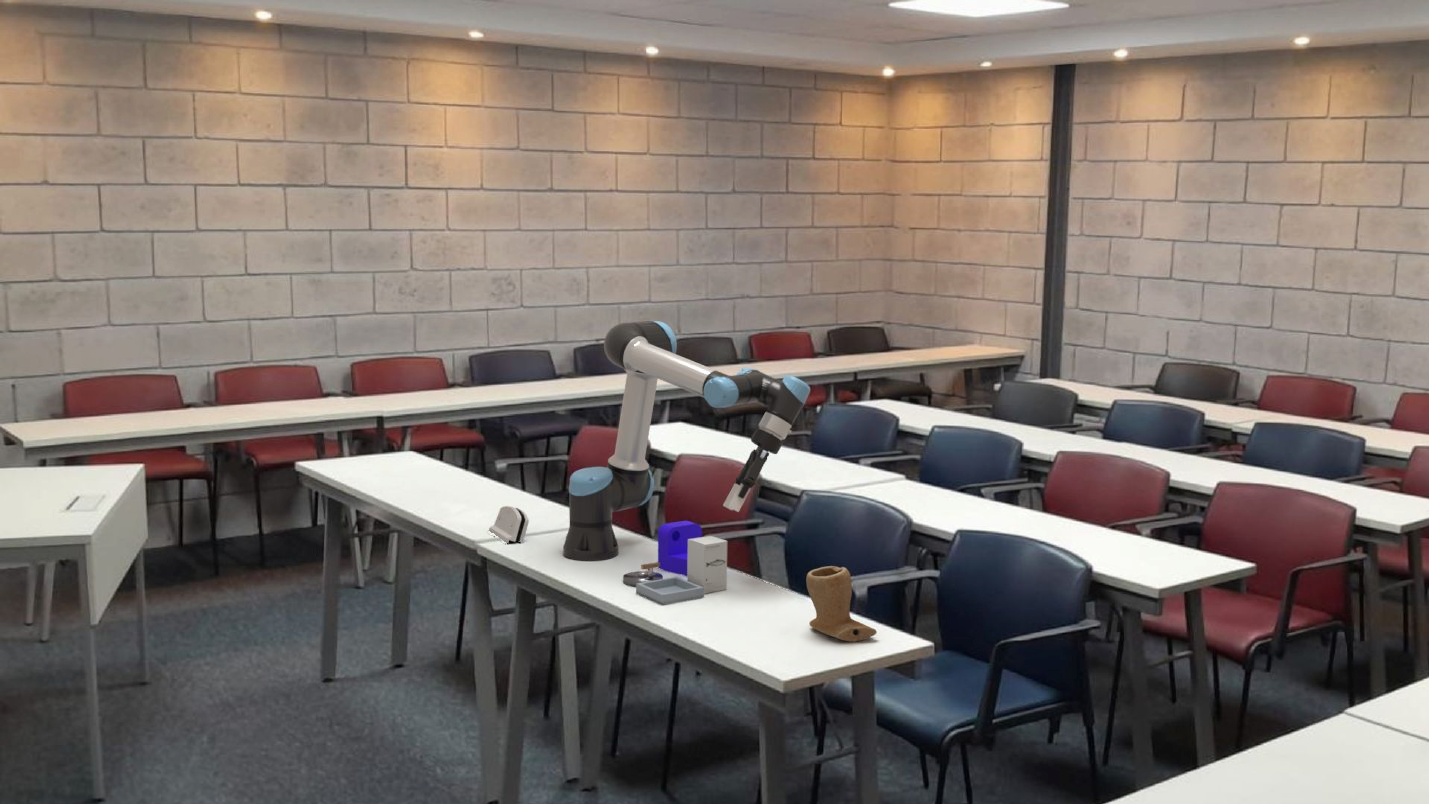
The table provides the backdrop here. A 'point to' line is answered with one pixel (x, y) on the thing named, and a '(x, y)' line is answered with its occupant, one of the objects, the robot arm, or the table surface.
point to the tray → (669, 590)
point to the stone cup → (834, 604)
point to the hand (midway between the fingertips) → (730, 508)
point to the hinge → (510, 524)
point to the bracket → (676, 545)
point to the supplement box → (707, 563)
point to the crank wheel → (642, 575)
